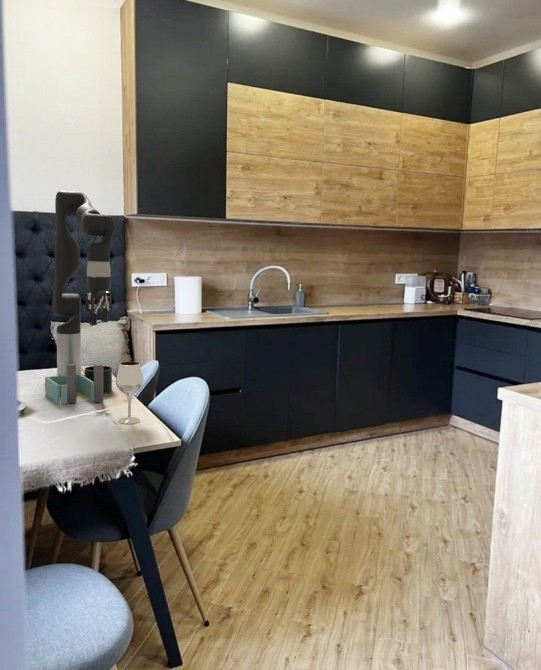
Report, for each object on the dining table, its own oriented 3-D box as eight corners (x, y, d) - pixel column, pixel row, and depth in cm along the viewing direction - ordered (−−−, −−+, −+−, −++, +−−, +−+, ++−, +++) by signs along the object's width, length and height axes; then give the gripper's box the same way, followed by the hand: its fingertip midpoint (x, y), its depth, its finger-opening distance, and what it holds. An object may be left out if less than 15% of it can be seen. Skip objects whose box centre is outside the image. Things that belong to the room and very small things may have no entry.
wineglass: (132, 415, 176) (132, 359, 173) (148, 421, 171) (149, 363, 168) (110, 420, 169) (110, 363, 167) (126, 426, 164) (126, 367, 162)
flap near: (59, 402, 184) (59, 365, 182) (74, 400, 187) (74, 363, 185) (62, 404, 182) (61, 366, 180) (77, 403, 185) (77, 365, 183)
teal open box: (45, 396, 193) (45, 377, 192) (80, 392, 200) (79, 373, 199) (57, 406, 182) (57, 385, 181) (93, 401, 189) (93, 381, 188)
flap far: (98, 403, 185) (97, 366, 183) (88, 401, 187) (88, 364, 185) (105, 402, 187) (105, 364, 185) (95, 399, 190) (95, 362, 188)
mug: (110, 387, 210) (110, 363, 209) (112, 395, 199) (112, 370, 198) (84, 388, 207) (83, 364, 206) (85, 396, 196) (84, 371, 194)
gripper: (97, 274, 192) (98, 320, 194) (77, 275, 178) (78, 325, 181) (118, 275, 191) (118, 321, 193) (99, 276, 177) (100, 326, 179)
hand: (99, 323), depth 187 cm, fingers open, 8 cm apart
